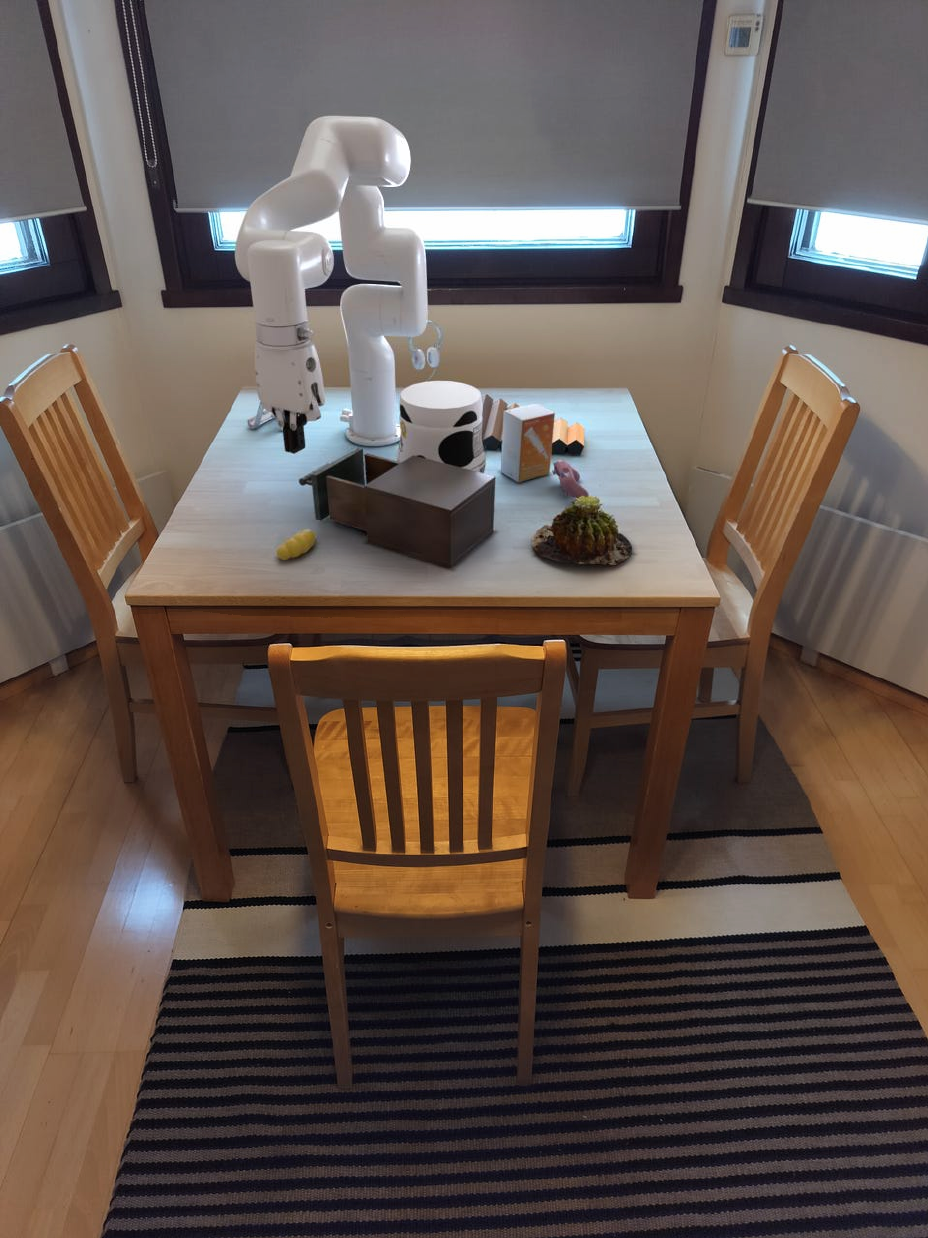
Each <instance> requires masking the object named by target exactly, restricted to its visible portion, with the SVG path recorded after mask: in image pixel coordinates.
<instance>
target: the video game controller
mask: <svg viewBox="0 0 928 1238" xmlns="http://www.w3.org/2000/svg"><path fill="white" fill-rule="evenodd" d="M551 471H552V474H553V475H554V476H557V477H558V480H559V485H560V487H561V488H562V492H563V494H565V495H566V496H570V497H572V498H573V499H575V498H578V499H580V498H579V497H581V496H585V497H587V498H588V496H589V497H590V495H589V492H588V491H587V490H586V488H585V487H583V486H582V485H580V484H579V483H578V482H579V481H580V480H581V475H580V473H579V472H578V470H577V469H576V468H573V467H572V465H571V464H569V462H567V461H566V460H564V458H563V459H562V460H560V459H559V460H557V461H555V462H553V469H552V470H551Z"/></svg>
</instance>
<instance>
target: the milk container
mask: <svg viewBox="0 0 928 1238" xmlns="http://www.w3.org/2000/svg"><path fill="white" fill-rule="evenodd" d="M398 405H399V406H398V409H399V425H400V440H399V443H398V447H397V451H396V458H395V461H398V462H403V461H405V460H406V459H408V458H410V457H411V456H413V455H414V456H418V457H422V458H425V459H429V460H433V461H437V462H441V463H445V464H449V465H453V466H457V467H461V468H464V469H468V470H472V471H476V472H480V473H484V474H485V471H486V463H487V459H486V451H485V446H484V442H482V411H483V405H482V394H481V391H480V390H479V389H478V388H476V387H475V386H474V385H470V384H467V383H464V382H458V381H451V380H431V381H429V380H428V382H426V381H422V382H418V383H413V384H411V385H408V386H406V387H405V388H404V389H402V391H401V392H400V394H399V404H398Z"/></svg>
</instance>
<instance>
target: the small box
mask: <svg viewBox="0 0 928 1238" xmlns="http://www.w3.org/2000/svg"><path fill="white" fill-rule="evenodd" d="M554 421H555V412H554V411H552V410H550V409H548V408H547V407H544V406H542V405H541V404H538V403H532V404H527V405H522V406H520V407H517V408H514V409H510V410H505V411H504V415H503V436H502V447H501V457H500V458H501V460H500V472H501V473H502V474H503V475H505V476H507V477H508V478H509V479H510V478H511V479H512V480H513V481H515V482H516V483H522V482H524V481H528V480H532V479H535V478H539V477H543V476H548V475H550V473H551V472H550V471H551V463H552V440H553V428H554Z"/></svg>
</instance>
